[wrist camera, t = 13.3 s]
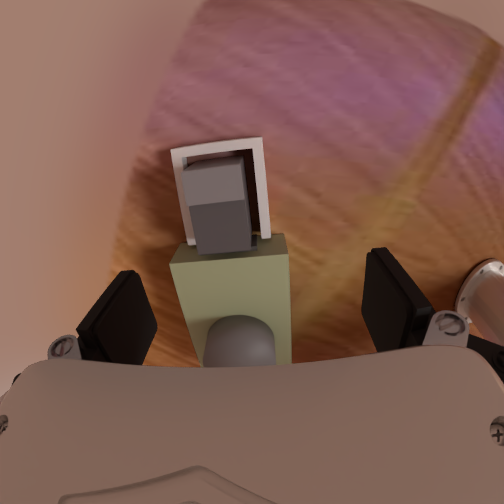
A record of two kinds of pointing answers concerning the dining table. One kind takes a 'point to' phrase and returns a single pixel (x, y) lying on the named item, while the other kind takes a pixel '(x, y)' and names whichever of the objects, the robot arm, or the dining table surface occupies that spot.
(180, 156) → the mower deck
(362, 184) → the dining table surface
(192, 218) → the grey block
